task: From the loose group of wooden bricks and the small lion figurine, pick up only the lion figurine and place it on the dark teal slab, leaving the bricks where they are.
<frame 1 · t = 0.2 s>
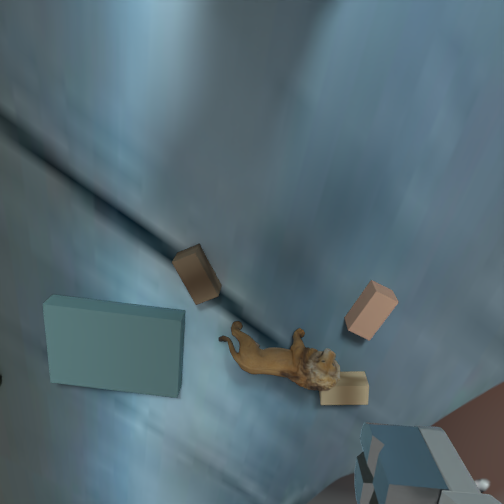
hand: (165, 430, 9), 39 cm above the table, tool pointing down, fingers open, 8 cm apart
teal slab: (119, 341, 55), on the table
terracotta brick: (367, 303, 51), on the table
lion figurine: (279, 334, 54), on the table
oak brick: (341, 380, 56), on the table
walnut brick: (199, 268, 51), on the table
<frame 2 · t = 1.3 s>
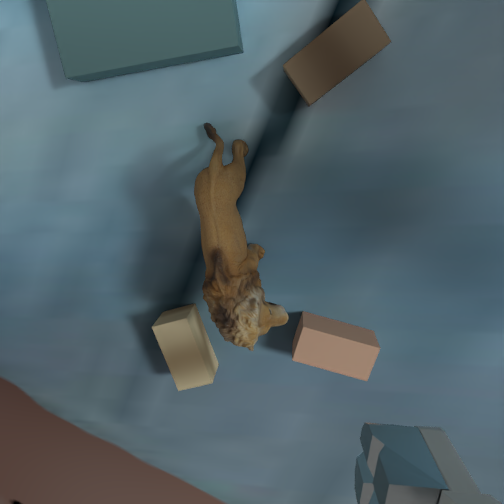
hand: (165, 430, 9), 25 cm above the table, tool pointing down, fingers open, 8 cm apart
terracotta brick: (332, 335, 35), on the table
lion figurine: (242, 222, 33), on the table
oak brick: (191, 337, 36), on the table
walnut brick: (332, 60, 29), on the table
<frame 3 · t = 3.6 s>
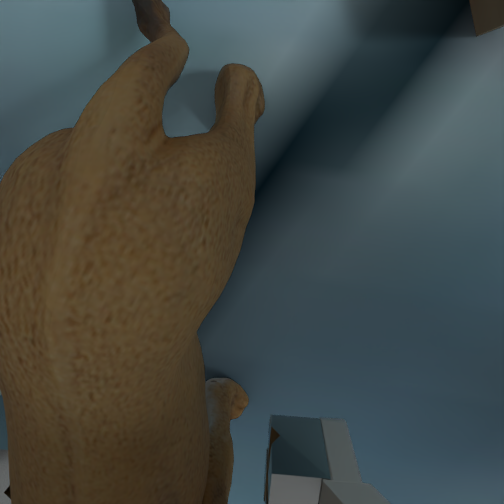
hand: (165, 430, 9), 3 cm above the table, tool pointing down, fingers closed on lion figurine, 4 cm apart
lion figurine: (200, 312, 12), on the table, touching gripper
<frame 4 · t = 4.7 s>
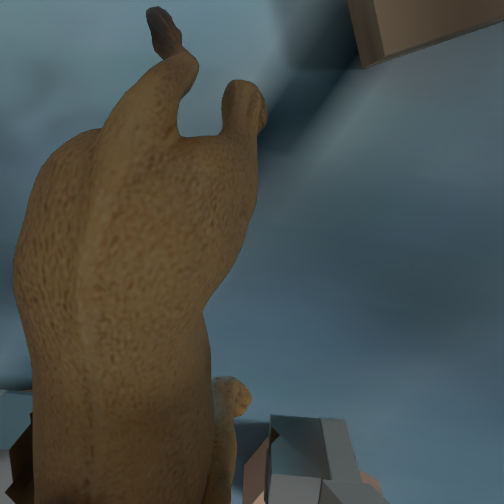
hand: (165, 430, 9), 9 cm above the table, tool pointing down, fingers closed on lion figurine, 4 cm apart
terracotta brick: (310, 470, 21), on the table
lion figurine: (206, 312, 12), point 5 cm above the table, touching gripper
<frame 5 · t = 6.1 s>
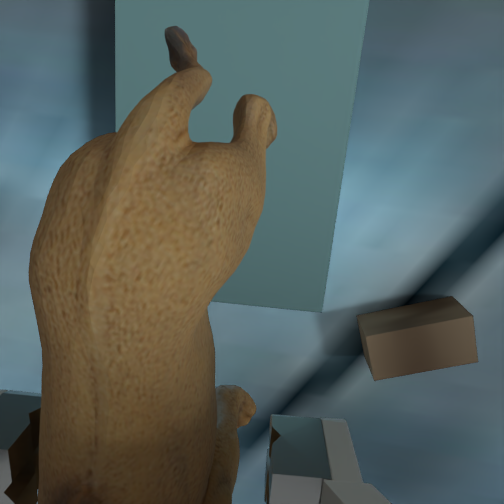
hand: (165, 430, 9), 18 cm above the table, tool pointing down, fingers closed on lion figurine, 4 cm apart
teal slab: (233, 149, 24), on the table
lion figurine: (213, 321, 12), point 13 cm above the table, touching gripper
walnut brick: (406, 325, 27), on the table
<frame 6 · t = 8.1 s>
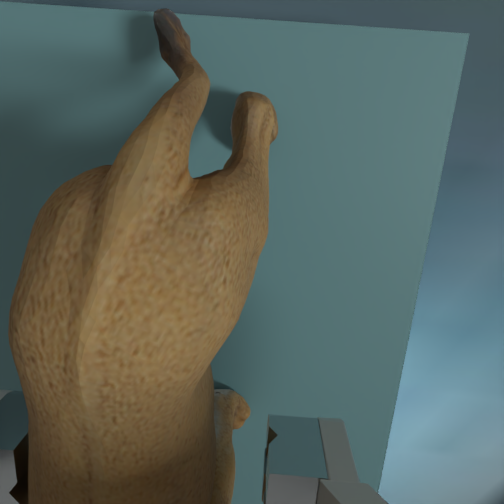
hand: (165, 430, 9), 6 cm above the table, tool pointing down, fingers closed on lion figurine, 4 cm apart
teal slab: (205, 310, 14), on the table
lion figurine: (207, 324, 12), point 2 cm above the table, touching gripper, teal slab
when the fingers open (6 cm above the table, at t = 8.2 s): lion figurine stays where it is, resting on teal slab.
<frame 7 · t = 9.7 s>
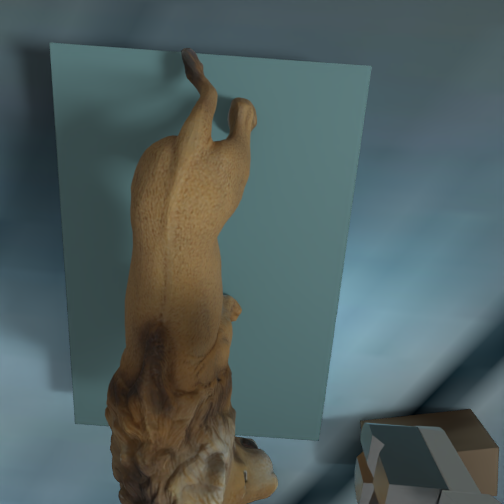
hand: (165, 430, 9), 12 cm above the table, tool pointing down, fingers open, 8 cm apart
teal slab: (209, 252, 20), on the table
lion figurine: (212, 251, 18), point 2 cm above the table, touching teal slab
walnut brick: (414, 434, 24), on the table
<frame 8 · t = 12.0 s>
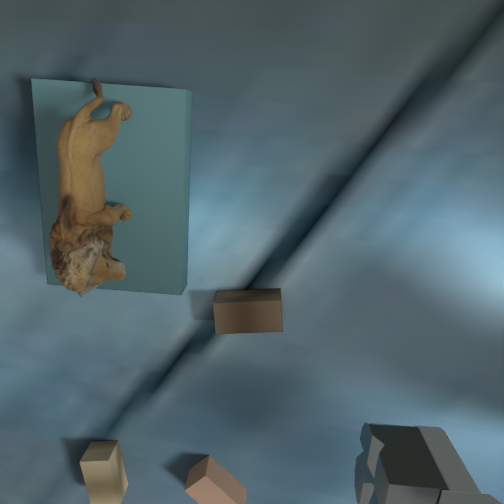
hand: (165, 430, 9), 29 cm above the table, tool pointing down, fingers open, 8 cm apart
teal slab: (121, 189, 37), on the table
terracotta brick: (218, 477, 46), on the table
lion figurine: (115, 181, 34), point 2 cm above the table, touching teal slab
oak brick: (110, 462, 46), on the table
walnut brick: (249, 303, 40), on the table
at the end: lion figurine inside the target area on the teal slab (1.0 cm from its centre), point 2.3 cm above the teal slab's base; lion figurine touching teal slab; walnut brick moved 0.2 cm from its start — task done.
